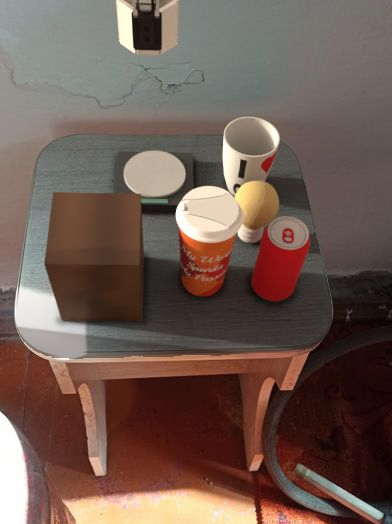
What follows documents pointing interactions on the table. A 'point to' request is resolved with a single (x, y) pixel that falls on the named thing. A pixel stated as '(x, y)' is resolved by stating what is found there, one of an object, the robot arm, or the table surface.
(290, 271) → the beverage can
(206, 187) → the coffee cup
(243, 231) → the light bulb
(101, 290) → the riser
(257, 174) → the cup
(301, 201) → the table surface
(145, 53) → the bowl
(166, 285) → the table surface
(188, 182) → the scale
